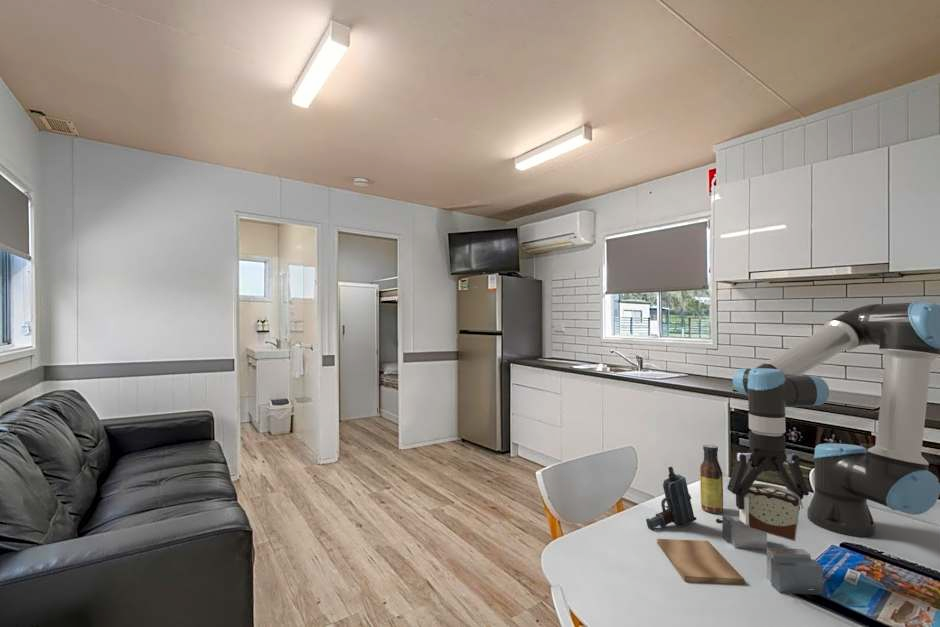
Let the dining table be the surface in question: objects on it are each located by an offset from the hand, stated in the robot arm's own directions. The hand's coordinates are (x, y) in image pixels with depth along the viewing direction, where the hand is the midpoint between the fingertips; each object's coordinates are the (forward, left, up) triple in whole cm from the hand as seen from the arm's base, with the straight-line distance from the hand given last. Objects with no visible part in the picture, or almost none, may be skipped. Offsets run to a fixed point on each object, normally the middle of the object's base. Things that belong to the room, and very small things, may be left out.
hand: (767, 522), depth 107 cm
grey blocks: (0, -2, -10) cm, 10 cm away
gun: (+16, -18, -10) cm, 26 cm away
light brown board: (+17, +1, -10) cm, 20 cm away
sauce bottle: (-1, -30, -10) cm, 32 cm away
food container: (-1, 0, -2) cm, 2 cm away
